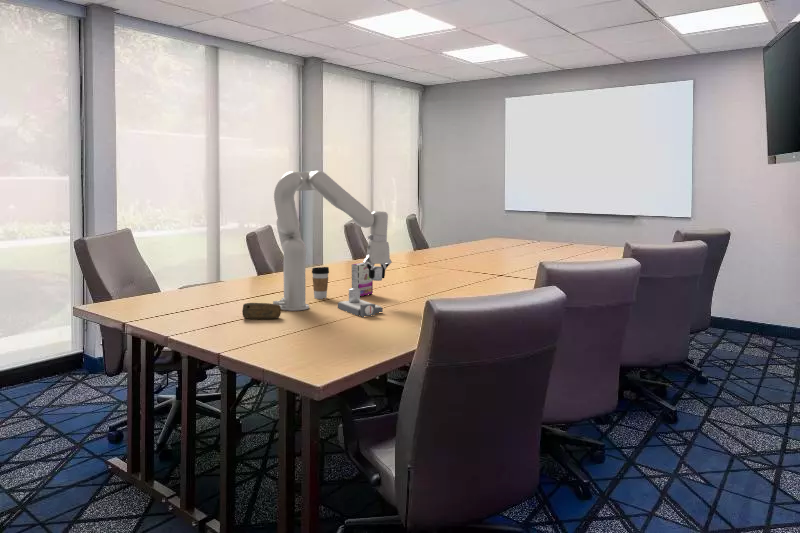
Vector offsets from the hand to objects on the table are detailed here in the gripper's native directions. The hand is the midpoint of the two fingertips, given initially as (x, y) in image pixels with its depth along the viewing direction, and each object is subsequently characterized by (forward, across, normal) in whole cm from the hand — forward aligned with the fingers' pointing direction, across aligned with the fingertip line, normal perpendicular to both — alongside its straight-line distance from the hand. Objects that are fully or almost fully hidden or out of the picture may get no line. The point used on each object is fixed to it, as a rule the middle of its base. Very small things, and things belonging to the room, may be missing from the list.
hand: (376, 277), depth 271 cm
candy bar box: (+13, +7, +25) cm, 29 cm away
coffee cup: (+14, -14, +29) cm, 35 cm away
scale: (+13, -12, -9) cm, 20 cm away
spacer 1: (+10, -12, -2) cm, 16 cm away
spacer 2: (+1, 0, 0) cm, 1 cm away
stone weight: (+15, -55, -2) cm, 57 cm away
